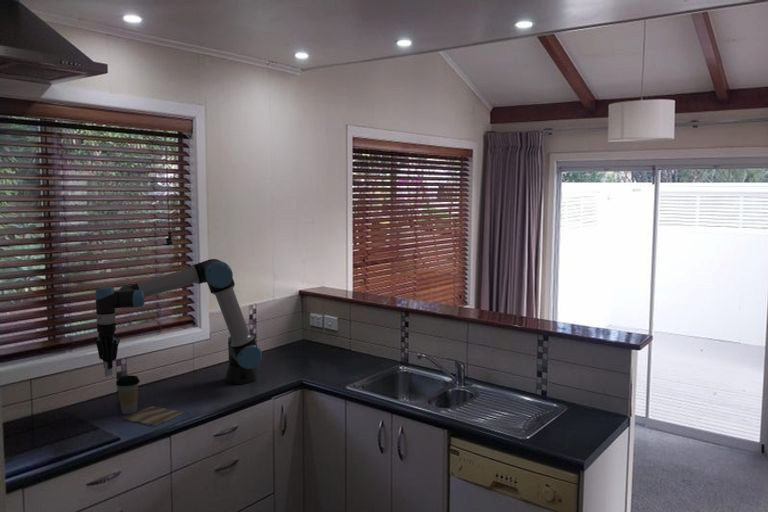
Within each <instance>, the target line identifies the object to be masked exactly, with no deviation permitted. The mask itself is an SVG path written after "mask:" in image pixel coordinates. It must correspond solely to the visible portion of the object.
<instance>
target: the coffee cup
mask: <svg viewBox="0 0 768 512" xmlns="http://www.w3.org/2000/svg"><path fill="white" fill-rule="evenodd" d="M139 383H140V378H139V377H138V376H137V375H124V376H121V377H118V378H117V381H116V386H117V393H118V400H119V403H120V410H121V414H123V415H132V414H135V413H137V412H138V411H137V410H138V400H139V399H138V398H139Z"/></svg>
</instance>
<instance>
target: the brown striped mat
mask: <svg viewBox="0 0 768 512" xmlns="http://www.w3.org/2000/svg"><path fill="white" fill-rule="evenodd" d="M183 413H185V412H184V411H180V410H174V409H169V408H164V407H158V406H155V405H154V406H153V405H151V406H149V407H147V408H144V409H142V410H140V411H136V412H135V413H132V414H129V415H128V416H126V417H123V418H122V419H123V421H128V422H133V423H137V422H138V424H142V423H143V424H142V425H146V424H150V425H149V426H151V425H155V426H154V427H158V426H160V425H162V424H161V423H163V422H165V423H167V422H168V420H169V421H170V419H171V420H173V419H175V418H177V417H179V416H182V415H183ZM178 415H179V416H178ZM174 417H175V418H174ZM172 418H173V419H172ZM166 421H167V422H166ZM159 424H160V425H159ZM163 424H164V423H163ZM157 425H158V426H157Z"/></svg>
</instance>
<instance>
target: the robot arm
mask: <svg viewBox="0 0 768 512" xmlns="http://www.w3.org/2000/svg"><path fill="white" fill-rule="evenodd" d="M233 277H234V273H233V270H232V268H231V267H230V265H229V264H228V263H226V262H224V261H223V260H219V259H217V258H209V259H207V260H203V261H201V262H198V263H195V264H192V265H191V266H190V267H188V268H185V269H182V270H178V271H175V272H172V273H167V274H165V275H161V276H158V277H157V276H156V277H155V278H151V279H147V280H143V281H141V282H136V283H133V284H129V285H127V284H126V285H123V286H121V287H120V288H119V289H118V291H117V290H116V291H115V287H113V286H102V287H101V286H100V287H98V288H96V290H95V310H96V323H97V324H96V331H97V333H98V335H97V337H94V338H93V339H94V342H95V344H96V349H97V353H98V358H99V360H101V361H103V368H104V377H110V376H113V367H114V366H113V364H114V363H113V361H116V360H117V356H118V349H119V343H120V342H121V340H120V339H117V338H116V334H115V332H116V330H117V323H116V318H117V317H116V310H117V309H128V308H129V309H130V308H135V309H136V308H140V307H143V306H144V305H145V298H149V297H153V296H155V295H159V294H163V293H166V292H169V291H173V290H177V289H179V288H183V287H186V286H189V285H193V284H197V285H200V284H205V283H206V284H207V286H208V289H209V291H210V294H213V295H214V296H215V298H216V301H217V303H218V306H219V309H220V311H221V315H222V317H223V320H224V323H225V325H226V328H227V330H228V332H229V333H228V334H229V337H228V340H227V347H228V352H227V353H228V367H227V372H226V374H225V382H226V383H227V384H230V385H245V384H250V383H253V382H255V381H257V372H256V370H255V367H257V366H258V365H259V364H260V362H261V361H262V358H263V353H262V350H261V348H260V347H259V346H258V345H257V342H256V339H255V336H254V335H253V334H250V332H249V328H248V326H247V323H246V321H245V317H244V315H243V313H242V309H241V307H240V304H239V301H238V299H237V296H236V293H235V290H234V288H235V285H236V283H235V280H234V278H233Z"/></svg>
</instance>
